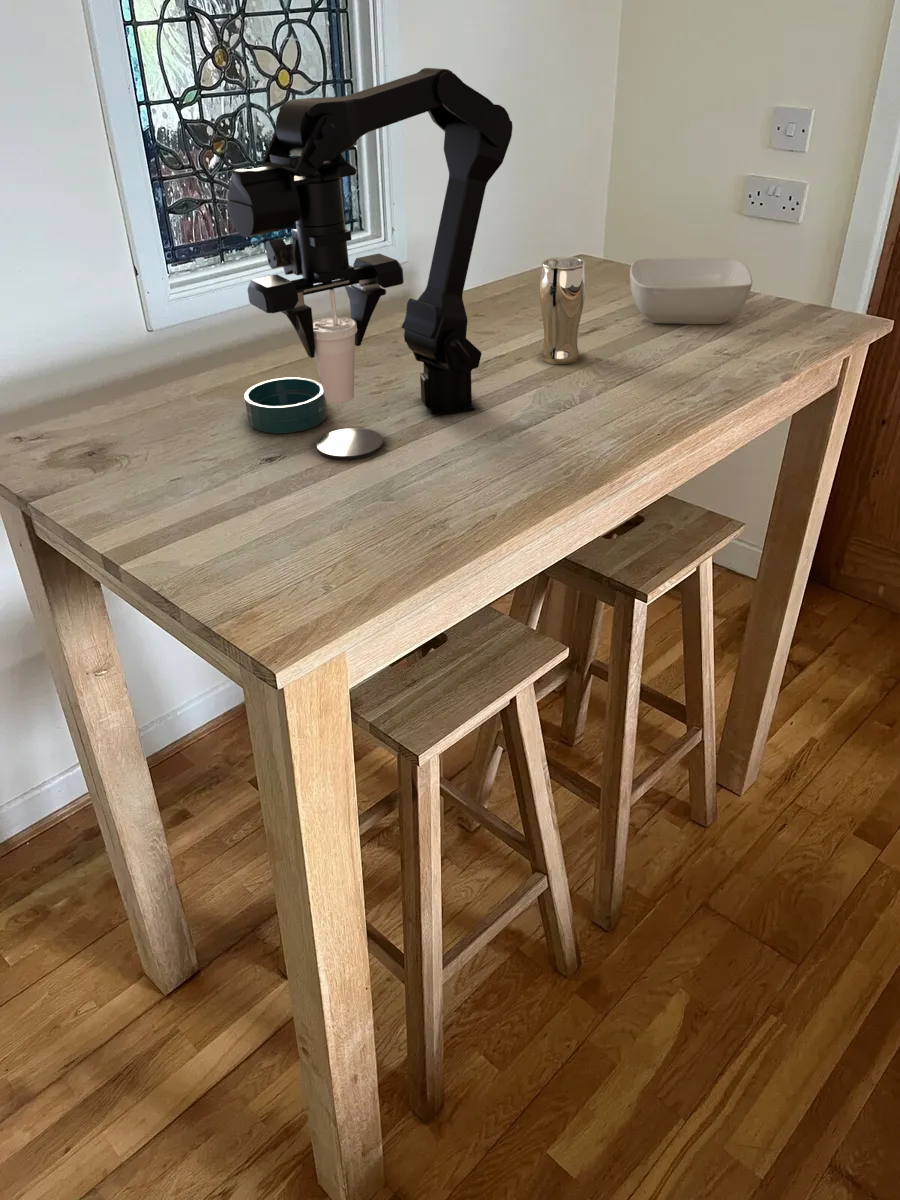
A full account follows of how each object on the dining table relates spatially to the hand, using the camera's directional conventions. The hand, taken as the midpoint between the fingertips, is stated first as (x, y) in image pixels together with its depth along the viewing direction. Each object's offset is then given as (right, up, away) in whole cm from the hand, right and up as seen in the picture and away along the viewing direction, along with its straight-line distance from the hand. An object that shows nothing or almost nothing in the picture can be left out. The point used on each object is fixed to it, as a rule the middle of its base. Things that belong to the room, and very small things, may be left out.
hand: (334, 350), depth 116 cm
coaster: (+1, -11, +6) cm, 13 cm away
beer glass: (+32, +7, +31) cm, 46 cm away
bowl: (+57, +20, +48) cm, 77 cm away
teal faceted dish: (-9, -6, +15) cm, 18 cm away
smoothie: (0, -5, +4) cm, 7 cm away
